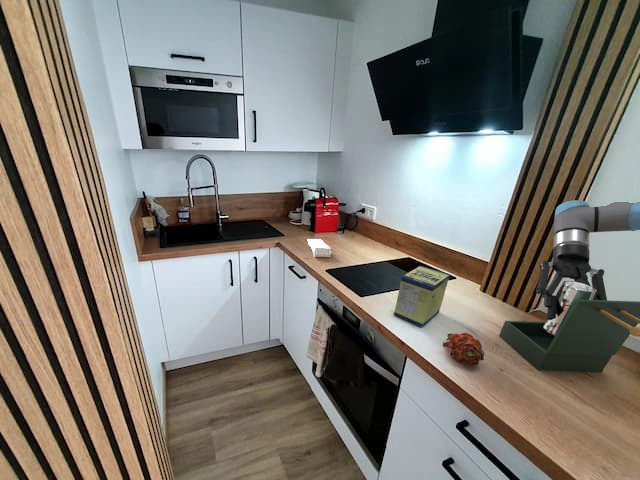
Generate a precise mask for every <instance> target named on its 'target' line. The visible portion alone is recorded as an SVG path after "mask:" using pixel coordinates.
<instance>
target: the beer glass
mask: <svg viewBox="0 0 640 480" xmlns="http://www.w3.org/2000/svg"><path fill="white" fill-rule="evenodd" d="M596 291H597V290H596V289H595V288H594V287H592V285H591V286H589V285H587V284H583V283H580V282H575V281H574V280H564V281H562V283H561V285H560V287H559V288H558V290H557V292H556V293H555V296H557V301H556V318H554V319H552V320H547V321H545V322H546V323H545V324H544V326H543V329H544V330H545V331H546V332H547V333H549V334H551V335H553V336H556V334H557V332H558V330H559V329H560V327H561V325H562V324H563V322H564V320H565V319H566V317H567V315H568V314H569V312H570V310H571V308H572V307H573V305H574V303H575V302H576V300H593V298H594V295H595V293H596Z"/></svg>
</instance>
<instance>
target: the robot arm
mask: <svg viewBox="0 0 640 480" xmlns="http://www.w3.org/2000/svg"><path fill="white" fill-rule="evenodd" d="M630 231H631V232H635V231H640V202H637V203H629V202H614V203H611V204H609V205H607V206H601V205H599V206H590V203H588V202H587V201H585V200H578V199H575V200H568V201H565V202H562V203H561V204H559V205H558V206H557V207H556V208H555V211H554V218H553V245H552V246H553V250H552V261H548V260H543V261H542V262H541V263H540V264H539V265H538V267H539V275H538V281H537V285H536V289H535V293H536V294H537V295H541V297H542V298H543V306H544V308H547V313H546V314H547V315H546V319H547V321H548V320H552V319H554V318H556V301H557V296H556V294H554V293H555V291H556V290H557V288H558V287H559V285H560V283H561V282H562V280H563V278H564V279H570V280H573V281H575V282H580V283H583V284H587V285H589V286H592V287H594V288H595V289H596V290H597V291H596V293H595V295H594V298H593V300H608V297H607V292H606V287H605V281H604V275H605V270H604V269H603V268H600V269H596V268H592V266H591V264H590V233H606V232H607V233H609V232H610V233H611V232H630ZM551 268H552V269H553V270H554V272H555V273H554V276H553V278H552V280H551V282H550V283H549V285H548V279H549V275H550V271H551ZM587 273H588V274H589V276H588V274H587ZM589 277H590V279H591V280H590V281H591V284H590V282H589ZM547 285H548V286H547Z"/></svg>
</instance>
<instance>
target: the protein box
mask: <svg viewBox="0 0 640 480" xmlns="http://www.w3.org/2000/svg"><path fill="white" fill-rule="evenodd" d="M450 275H451V274H449V273H446V272H444V271H439V270H436V269H433V268H429V267H426V266H423V265H419V266H418V267H416V268H415V269H413V270H411V271H409V272H407V273H405V274H404V275H402V276H401V279H400V285H399V289H398V293H397V298H396V303H395V306H394V312H393V316H395V317H396V318H399V319H400V320H401V319H402V320H404V321H406V322H409V323H411V324H412V325H415V326H418V327H419V328H424V326H426V325H427V324H428V323H429V322H430V321H431V320H432V319H434V318H435V317H436V316H437V315H439V313H440V311H441V308H442V304H443V300H444V297H445V293H446V290H447V287H448V283H449V280H450Z"/></svg>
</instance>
